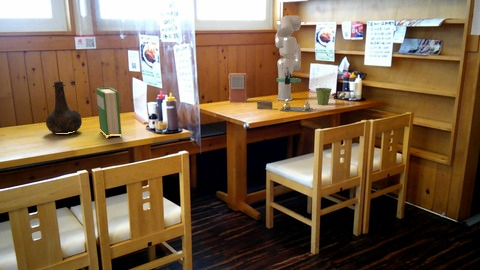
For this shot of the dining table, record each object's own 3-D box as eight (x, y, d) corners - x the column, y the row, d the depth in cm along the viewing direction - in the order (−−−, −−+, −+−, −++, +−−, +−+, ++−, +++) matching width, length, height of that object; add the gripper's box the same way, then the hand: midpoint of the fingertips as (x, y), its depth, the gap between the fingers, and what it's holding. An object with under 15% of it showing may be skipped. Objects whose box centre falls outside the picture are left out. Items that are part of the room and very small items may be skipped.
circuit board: (277, 80, 286) (277, 77, 286) (301, 81, 281) (301, 78, 281) (275, 82, 280) (275, 79, 279) (299, 82, 275) (299, 79, 274)
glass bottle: (83, 135, 223) (77, 82, 216) (46, 138, 217) (39, 84, 210) (82, 128, 239) (77, 79, 233) (48, 131, 233) (42, 80, 227)
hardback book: (121, 137, 218) (117, 91, 212) (107, 139, 215) (102, 92, 209) (114, 130, 233) (110, 87, 227) (100, 132, 230) (96, 88, 224)
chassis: (283, 107, 292) (283, 97, 290) (312, 109, 286) (312, 98, 285) (280, 111, 281) (280, 100, 279) (310, 112, 275) (310, 101, 274)
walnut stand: (258, 108, 293) (258, 101, 291) (272, 108, 290) (272, 101, 289) (257, 108, 290) (257, 101, 289) (271, 109, 287) (271, 102, 286)
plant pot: (329, 106, 296) (330, 90, 293) (313, 105, 300) (313, 89, 298) (332, 103, 307) (333, 88, 304) (316, 102, 311) (317, 87, 308)
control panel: (229, 101, 322) (248, 101, 321) (227, 102, 316) (247, 102, 314) (228, 73, 317) (248, 73, 316) (227, 74, 311) (247, 74, 309)
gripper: (286, 55, 286) (285, 82, 290) (280, 57, 270) (280, 85, 274) (297, 55, 283) (296, 82, 288) (291, 57, 267) (291, 85, 272)
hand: (288, 83), depth 281 cm, fingers closed on circuit board, 7 cm apart
